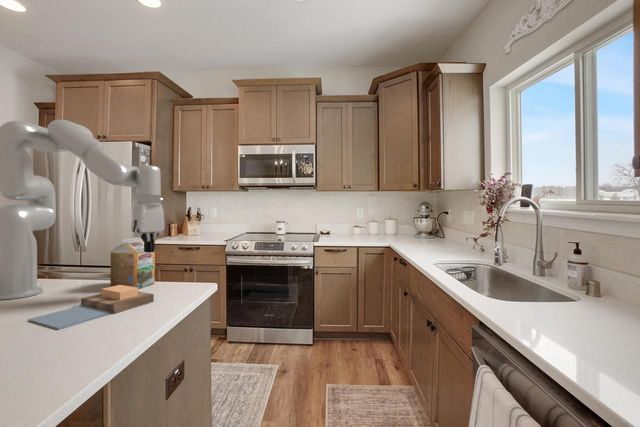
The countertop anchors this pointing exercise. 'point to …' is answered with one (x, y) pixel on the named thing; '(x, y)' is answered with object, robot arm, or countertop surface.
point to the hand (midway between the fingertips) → (149, 252)
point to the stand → (117, 302)
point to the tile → (119, 292)
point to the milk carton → (132, 265)
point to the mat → (69, 317)
